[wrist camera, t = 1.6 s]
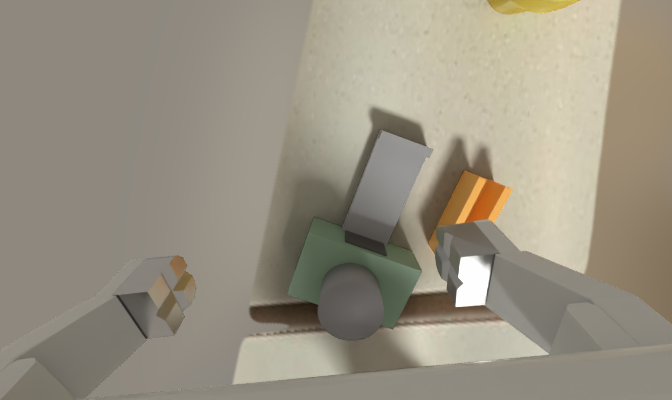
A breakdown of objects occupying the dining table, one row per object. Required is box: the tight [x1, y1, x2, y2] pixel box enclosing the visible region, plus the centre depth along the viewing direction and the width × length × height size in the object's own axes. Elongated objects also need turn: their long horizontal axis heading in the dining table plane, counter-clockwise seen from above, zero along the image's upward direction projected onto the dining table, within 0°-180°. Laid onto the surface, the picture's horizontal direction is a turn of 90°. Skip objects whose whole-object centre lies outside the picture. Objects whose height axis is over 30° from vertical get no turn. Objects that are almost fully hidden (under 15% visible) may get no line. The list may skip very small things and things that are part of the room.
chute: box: [428, 170, 513, 254], centre depth 39 cm, size 5×12×5 cm, turn 160°
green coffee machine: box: [287, 130, 433, 341], centre depth 37 cm, size 16×25×11 cm, turn 160°
